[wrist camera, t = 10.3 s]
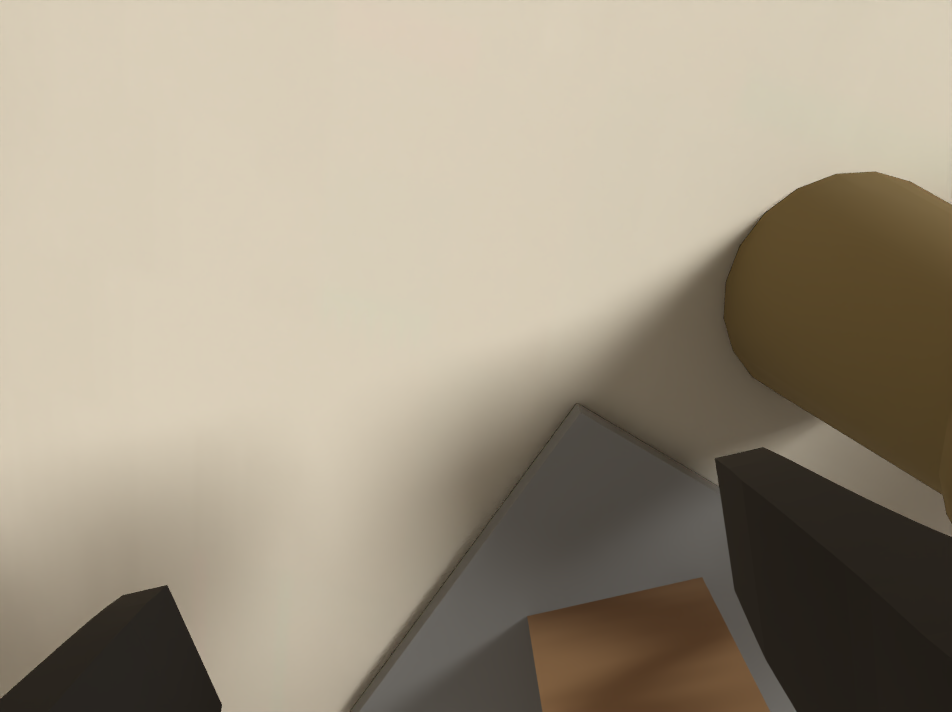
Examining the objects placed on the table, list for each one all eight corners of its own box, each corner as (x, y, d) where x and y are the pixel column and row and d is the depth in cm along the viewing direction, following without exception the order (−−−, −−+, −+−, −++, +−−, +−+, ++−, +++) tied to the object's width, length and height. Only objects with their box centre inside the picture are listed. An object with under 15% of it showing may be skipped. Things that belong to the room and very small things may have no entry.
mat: (907, 597, 24) (918, 610, 23) (661, 852, 27) (667, 869, 26) (577, 402, 21) (580, 412, 20) (349, 712, 24) (347, 728, 24)
